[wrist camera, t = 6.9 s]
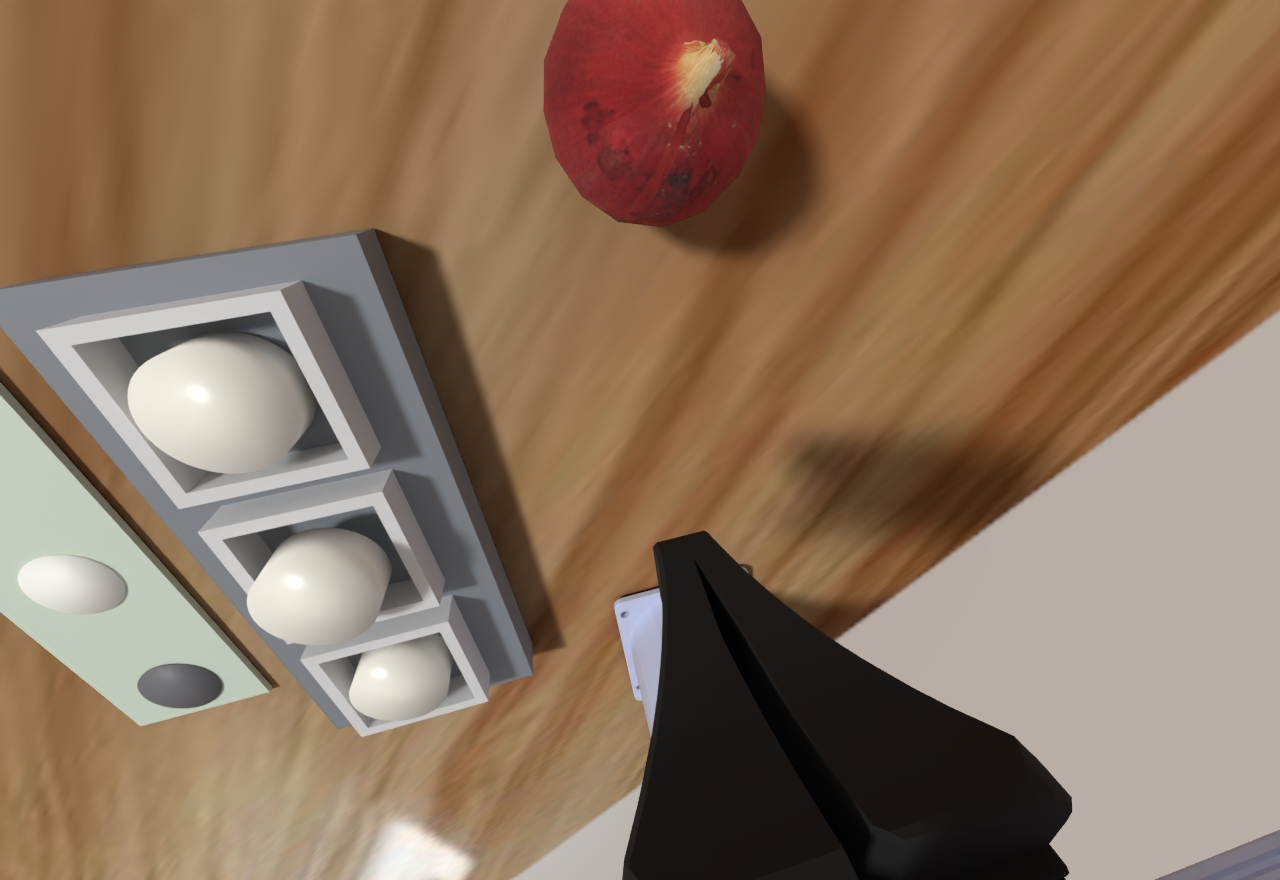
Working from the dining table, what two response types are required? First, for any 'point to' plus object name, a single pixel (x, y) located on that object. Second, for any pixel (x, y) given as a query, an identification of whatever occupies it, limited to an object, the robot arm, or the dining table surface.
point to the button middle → (320, 587)
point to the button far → (402, 679)
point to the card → (103, 589)
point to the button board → (296, 445)
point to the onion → (653, 103)
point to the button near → (223, 402)
